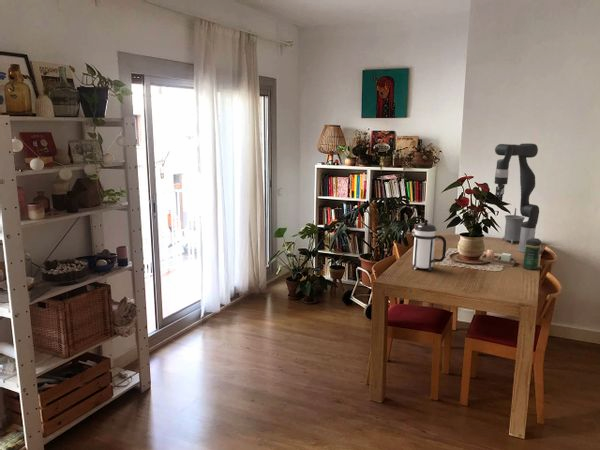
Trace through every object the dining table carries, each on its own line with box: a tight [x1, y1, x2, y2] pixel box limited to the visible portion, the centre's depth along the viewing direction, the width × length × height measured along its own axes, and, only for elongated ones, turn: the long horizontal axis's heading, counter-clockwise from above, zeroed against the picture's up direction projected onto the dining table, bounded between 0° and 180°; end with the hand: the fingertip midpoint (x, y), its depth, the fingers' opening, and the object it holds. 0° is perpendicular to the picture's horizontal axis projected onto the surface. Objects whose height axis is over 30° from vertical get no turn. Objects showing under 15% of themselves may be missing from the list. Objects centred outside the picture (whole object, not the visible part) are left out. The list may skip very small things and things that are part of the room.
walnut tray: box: [479, 253, 517, 268], centre depth 309 cm, size 11×20×3 cm, turn 57°
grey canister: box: [501, 207, 526, 245], centre depth 362 cm, size 19×15×25 cm
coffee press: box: [411, 219, 447, 272], centre depth 289 cm, size 17×16×30 cm
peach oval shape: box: [486, 249, 495, 259], centre depth 311 cm, size 5×5×6 cm
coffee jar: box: [522, 237, 542, 271], centre depth 295 cm, size 10×8×19 cm
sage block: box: [500, 252, 512, 262], centre depth 306 cm, size 5×5×5 cm
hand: (498, 201), depth 306 cm, fingers open, 8 cm apart
